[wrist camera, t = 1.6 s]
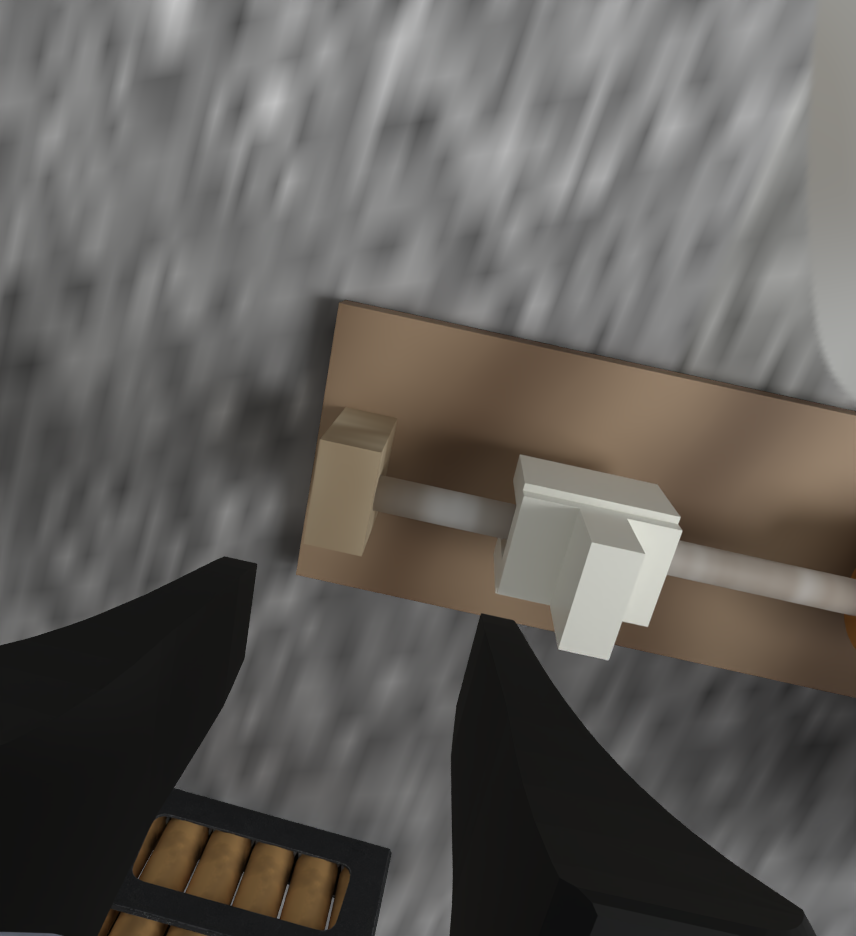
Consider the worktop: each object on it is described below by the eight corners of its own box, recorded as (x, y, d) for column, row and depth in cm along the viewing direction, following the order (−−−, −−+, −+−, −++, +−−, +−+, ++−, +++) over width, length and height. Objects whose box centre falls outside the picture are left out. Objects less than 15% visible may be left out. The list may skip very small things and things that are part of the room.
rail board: (1123, 469, 21) (1320, 540, 16) (983, 711, 24) (1113, 832, 19) (345, 299, 21) (304, 318, 16) (303, 561, 24) (257, 644, 19)
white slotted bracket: (657, 484, 19) (711, 559, 15) (624, 582, 20) (664, 680, 16) (519, 454, 19) (531, 520, 15) (493, 553, 20) (497, 643, 16)
